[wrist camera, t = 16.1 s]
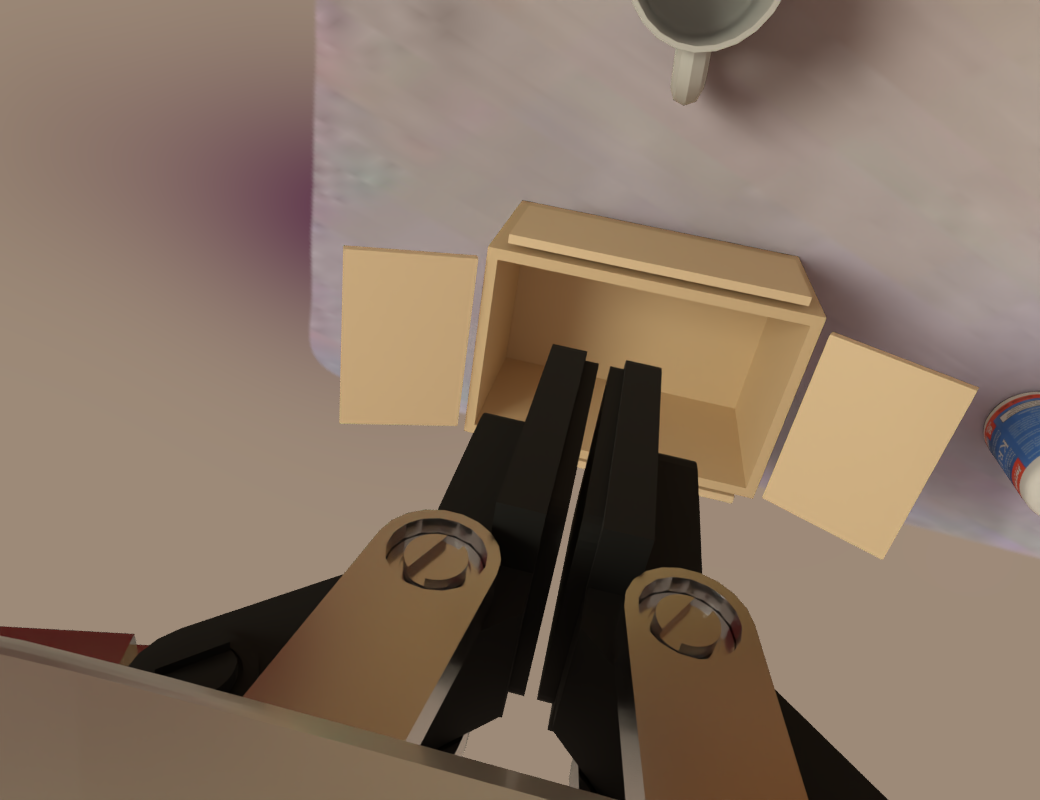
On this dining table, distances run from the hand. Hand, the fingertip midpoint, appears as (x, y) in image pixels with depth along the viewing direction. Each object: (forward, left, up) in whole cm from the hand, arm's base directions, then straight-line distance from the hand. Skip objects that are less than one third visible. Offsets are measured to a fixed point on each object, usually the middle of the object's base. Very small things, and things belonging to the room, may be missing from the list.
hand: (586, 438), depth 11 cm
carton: (-2, +13, -37) cm, 39 cm away
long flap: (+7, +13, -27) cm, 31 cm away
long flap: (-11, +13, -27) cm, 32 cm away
